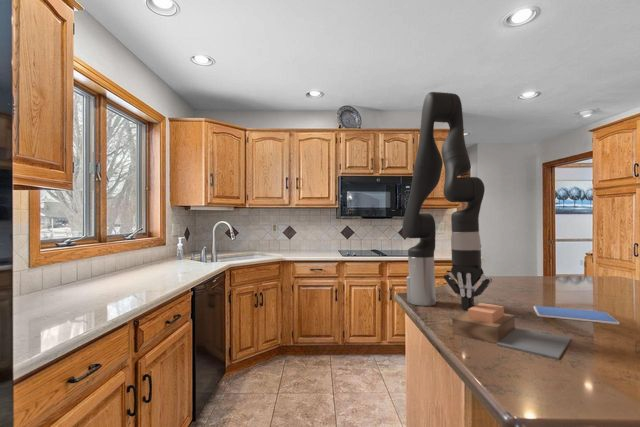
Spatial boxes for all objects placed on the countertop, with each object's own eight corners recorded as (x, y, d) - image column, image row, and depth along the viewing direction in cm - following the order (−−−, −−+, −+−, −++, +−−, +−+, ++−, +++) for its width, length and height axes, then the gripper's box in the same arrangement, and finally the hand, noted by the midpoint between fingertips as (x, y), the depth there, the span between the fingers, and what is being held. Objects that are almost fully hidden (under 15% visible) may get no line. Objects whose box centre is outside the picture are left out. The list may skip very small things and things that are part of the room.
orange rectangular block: (468, 318, 85) (467, 309, 85) (480, 311, 91) (480, 302, 91) (492, 323, 81) (492, 313, 81) (504, 315, 87) (503, 306, 87)
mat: (496, 345, 77) (496, 343, 77) (515, 329, 88) (515, 327, 88) (558, 359, 68) (558, 357, 68) (570, 339, 79) (570, 337, 79)
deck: (453, 333, 85) (452, 318, 85) (472, 321, 95) (472, 308, 95) (498, 344, 77) (497, 327, 77) (514, 329, 87) (514, 315, 87)
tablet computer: (606, 315, 100) (606, 311, 101) (621, 327, 89) (621, 322, 89) (533, 309, 110) (533, 305, 110) (538, 318, 98) (538, 314, 98)
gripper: (437, 248, 92) (439, 308, 91) (486, 249, 82) (488, 317, 82) (448, 246, 97) (450, 304, 96) (495, 248, 87) (498, 311, 87)
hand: (468, 310), depth 89 cm, fingers closed
